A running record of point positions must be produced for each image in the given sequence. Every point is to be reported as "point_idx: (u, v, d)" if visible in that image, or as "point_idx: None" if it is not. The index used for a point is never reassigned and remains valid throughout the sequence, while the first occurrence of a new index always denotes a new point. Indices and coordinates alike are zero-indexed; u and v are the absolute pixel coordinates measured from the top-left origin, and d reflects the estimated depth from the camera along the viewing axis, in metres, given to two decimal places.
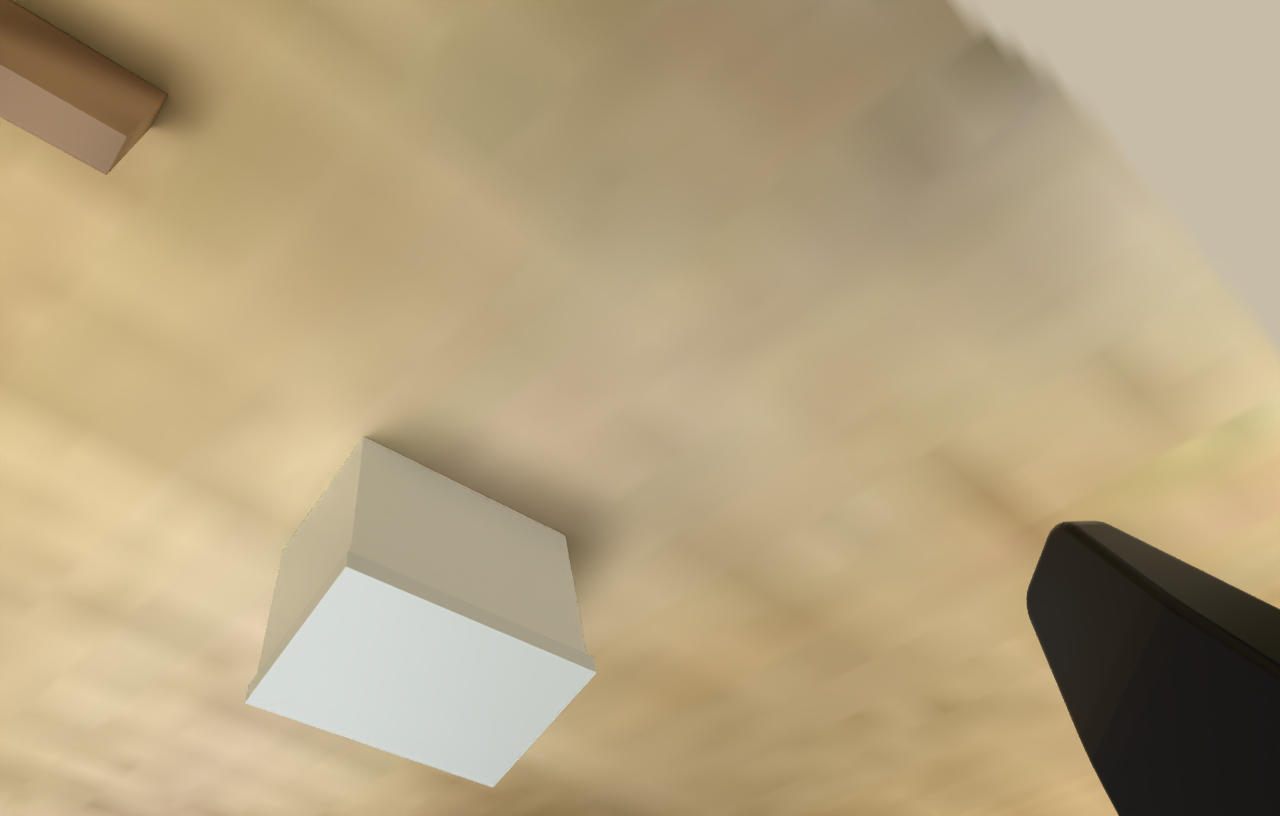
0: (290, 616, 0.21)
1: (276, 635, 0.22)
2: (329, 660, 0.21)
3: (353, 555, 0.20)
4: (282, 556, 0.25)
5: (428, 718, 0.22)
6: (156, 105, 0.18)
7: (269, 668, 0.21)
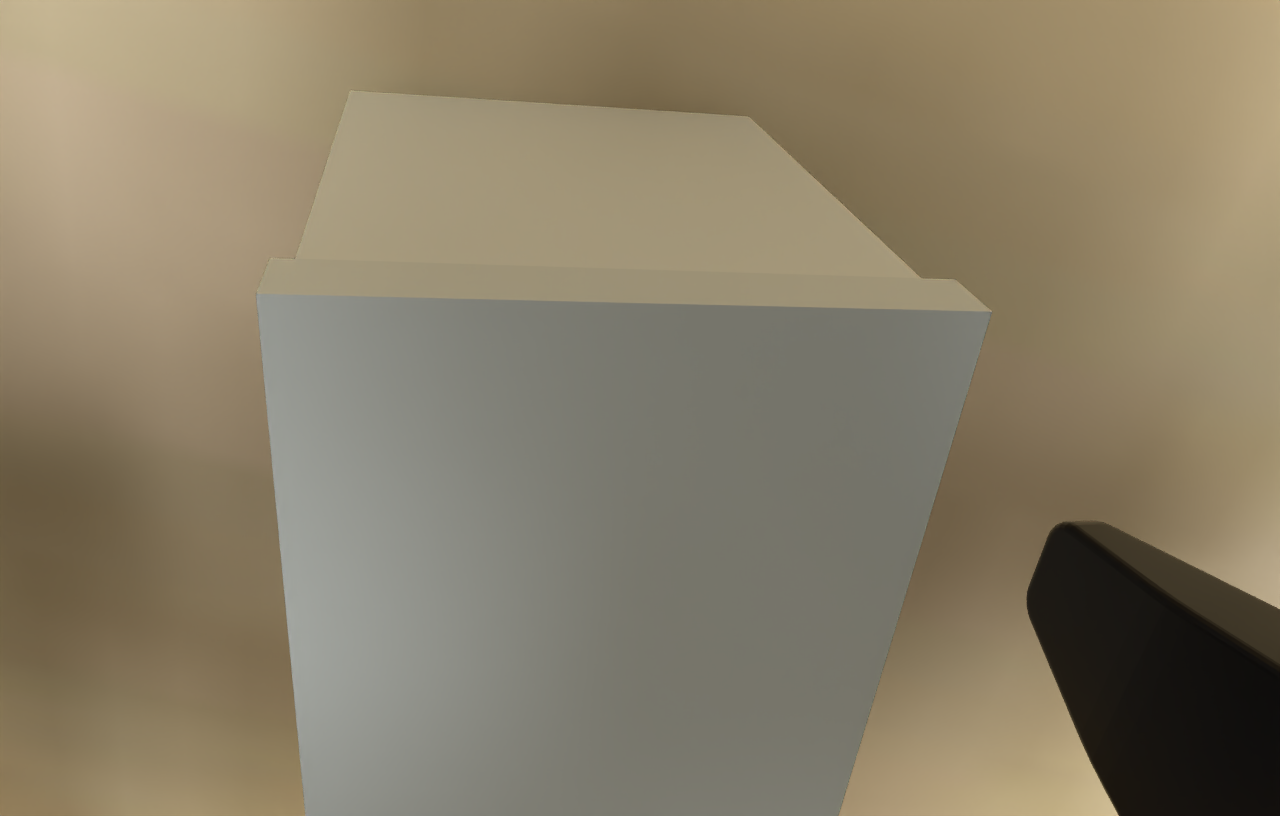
0: (519, 234, 0.07)
1: (422, 230, 0.06)
2: (596, 446, 0.06)
3: None
4: (356, 98, 0.09)
5: (490, 761, 0.07)
6: None
7: (462, 295, 0.05)
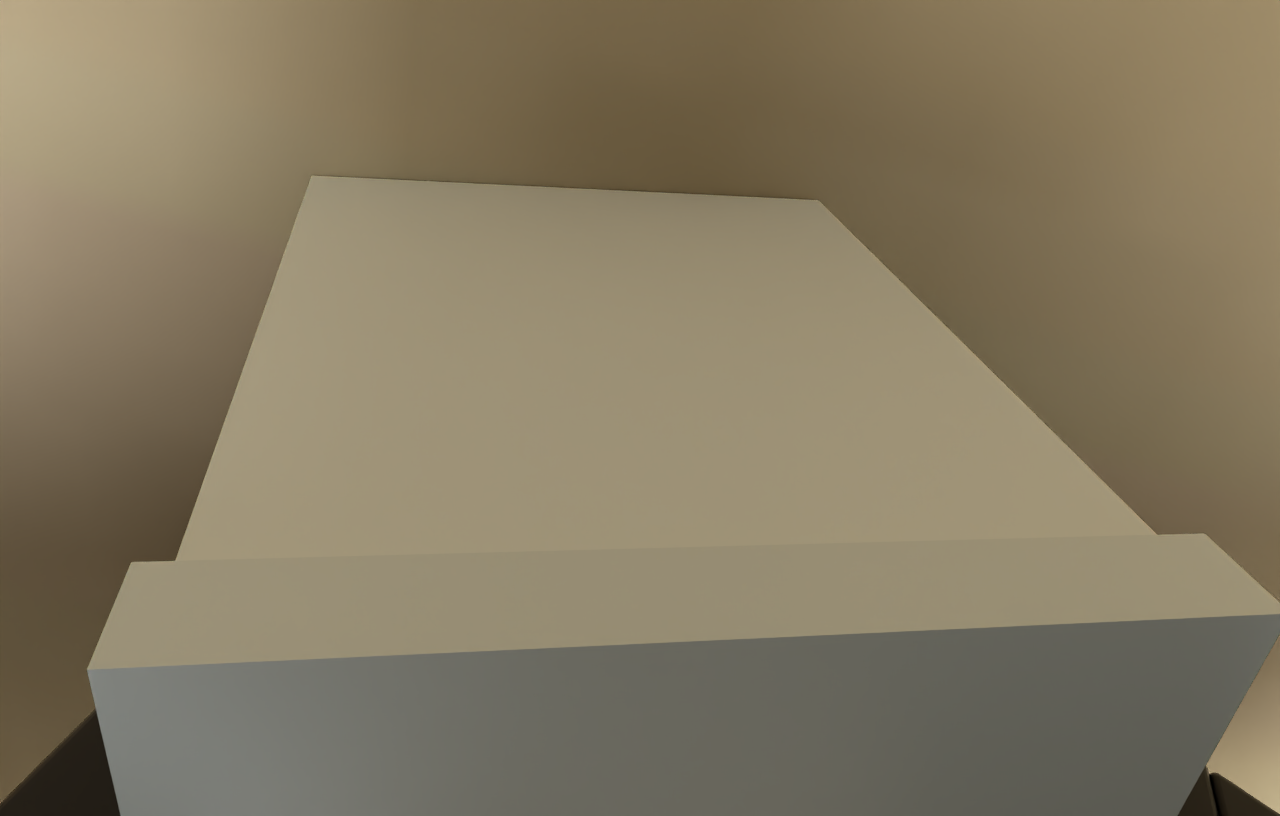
0: (537, 455, 0.04)
1: (392, 455, 0.04)
2: None
3: (1160, 559, 0.04)
4: (317, 192, 0.07)
5: None
6: None
7: (450, 640, 0.03)
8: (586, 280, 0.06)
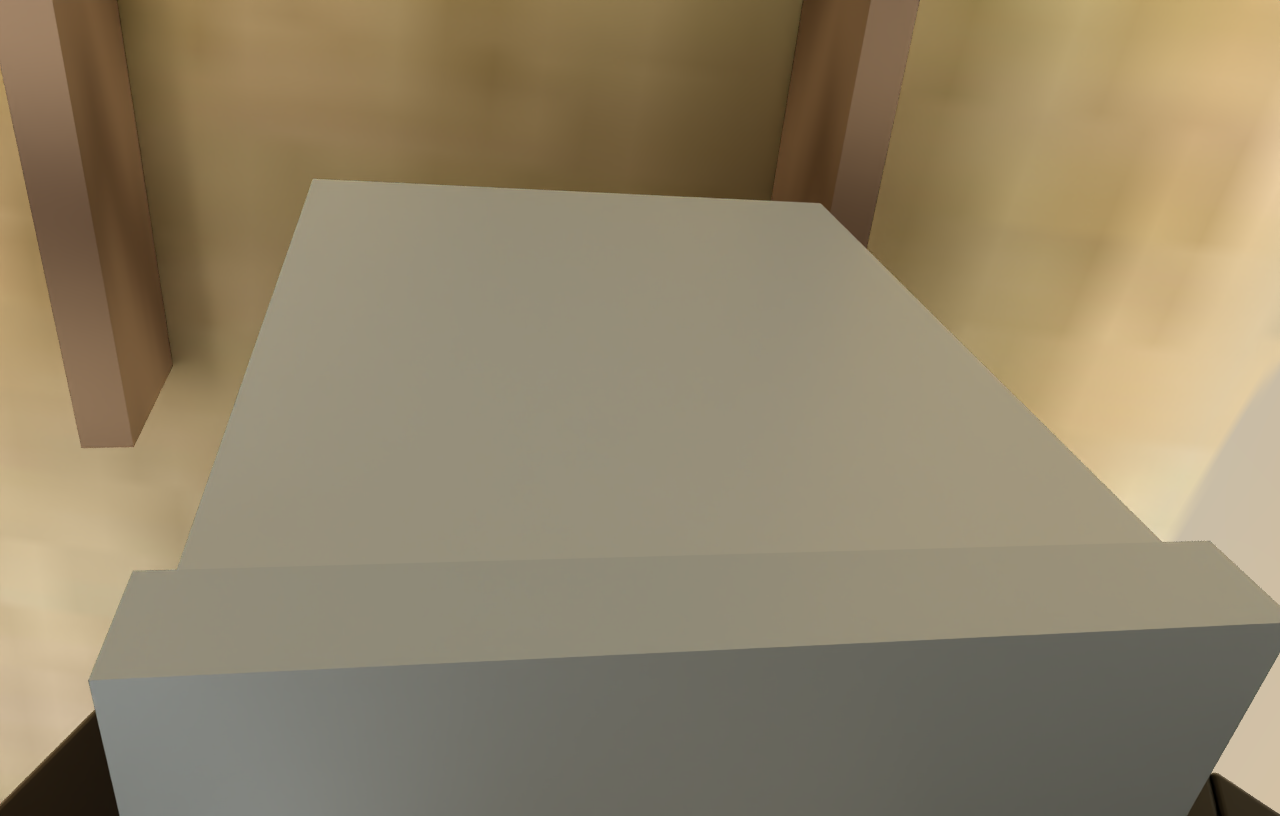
0: (542, 462, 0.04)
1: (394, 461, 0.04)
2: None
3: (1165, 567, 0.04)
4: (318, 195, 0.07)
5: None
6: None
7: (453, 650, 0.03)
8: (588, 284, 0.06)
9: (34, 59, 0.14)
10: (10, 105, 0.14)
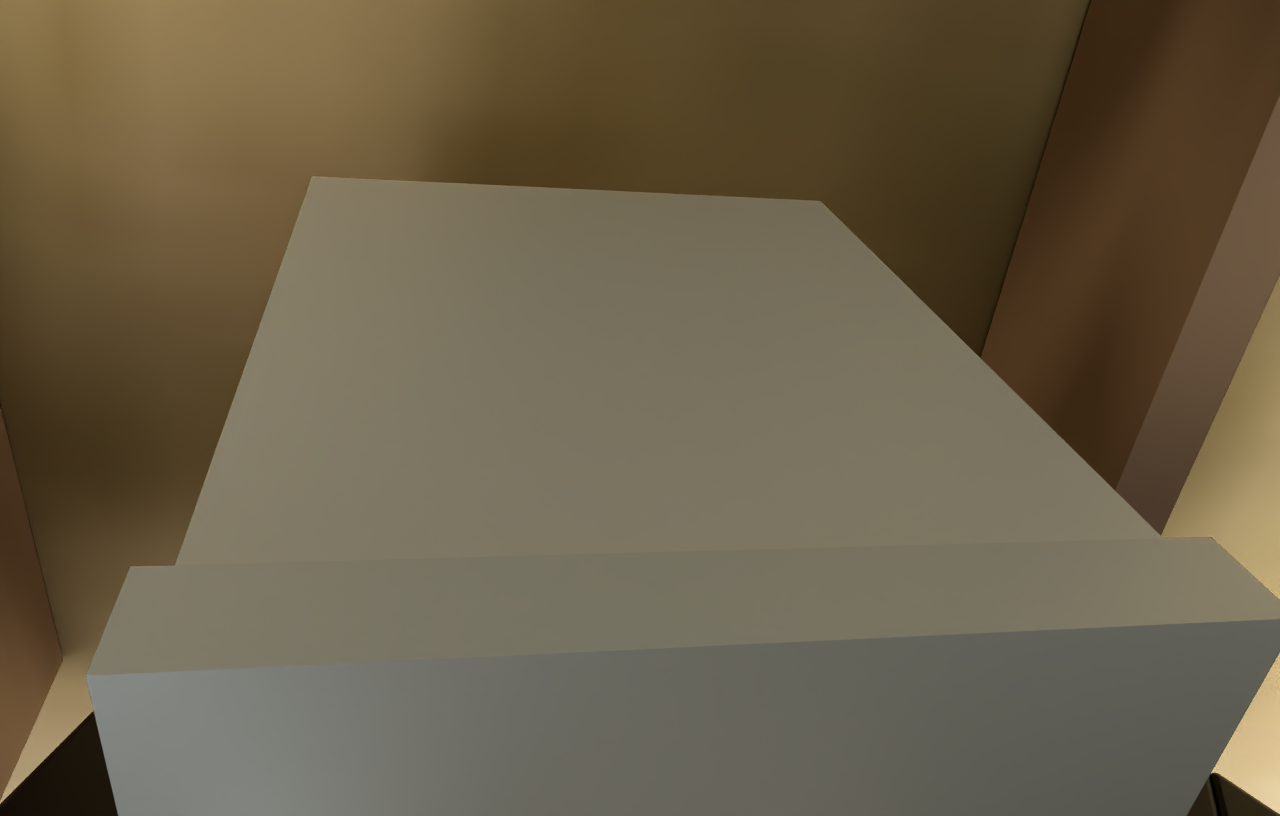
0: (542, 458, 0.04)
1: (393, 458, 0.04)
2: None
3: (1168, 563, 0.04)
4: (317, 192, 0.07)
5: None
6: None
7: (453, 646, 0.03)
8: (588, 281, 0.06)
9: None
10: None
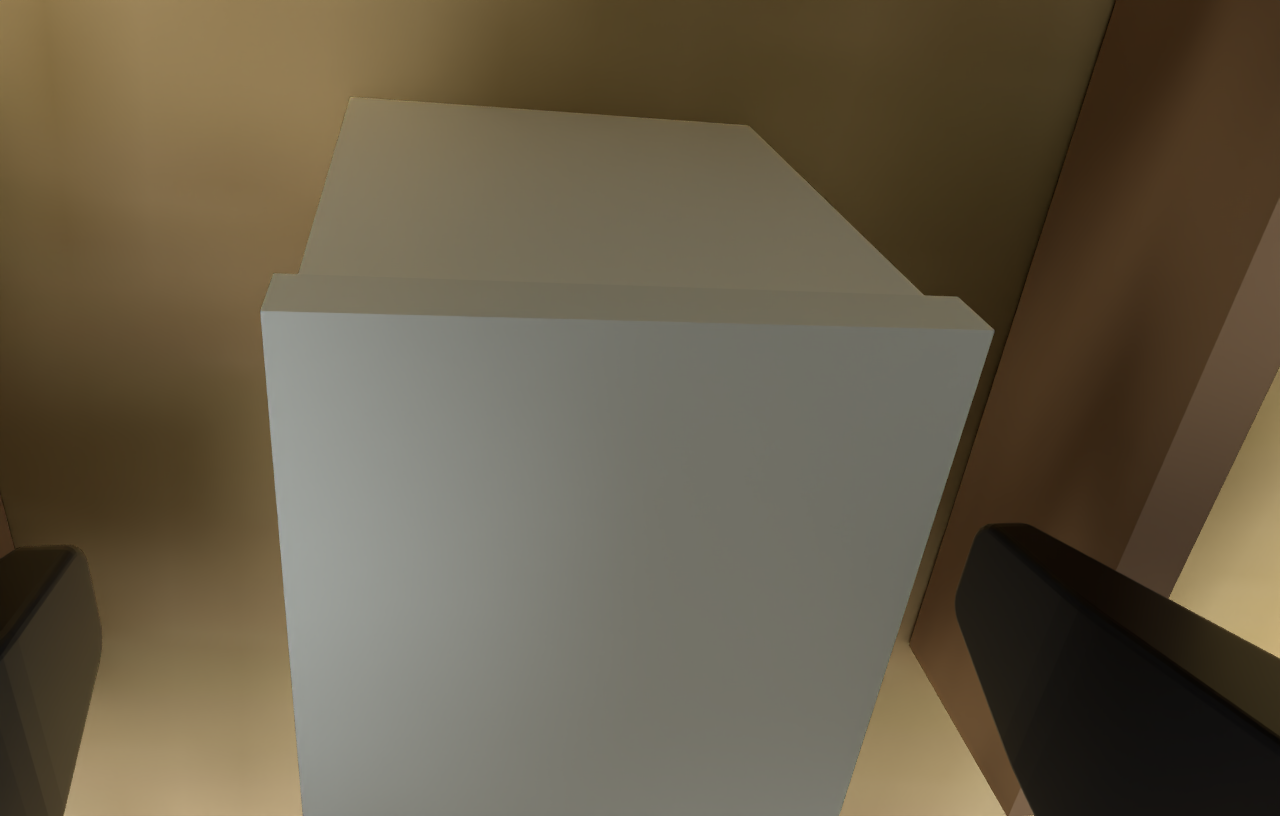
0: (522, 248, 0.07)
1: (425, 243, 0.06)
2: (600, 462, 0.06)
3: None
4: (356, 105, 0.09)
5: (489, 773, 0.07)
6: None
7: (467, 312, 0.05)
8: (560, 163, 0.08)
9: None
10: None
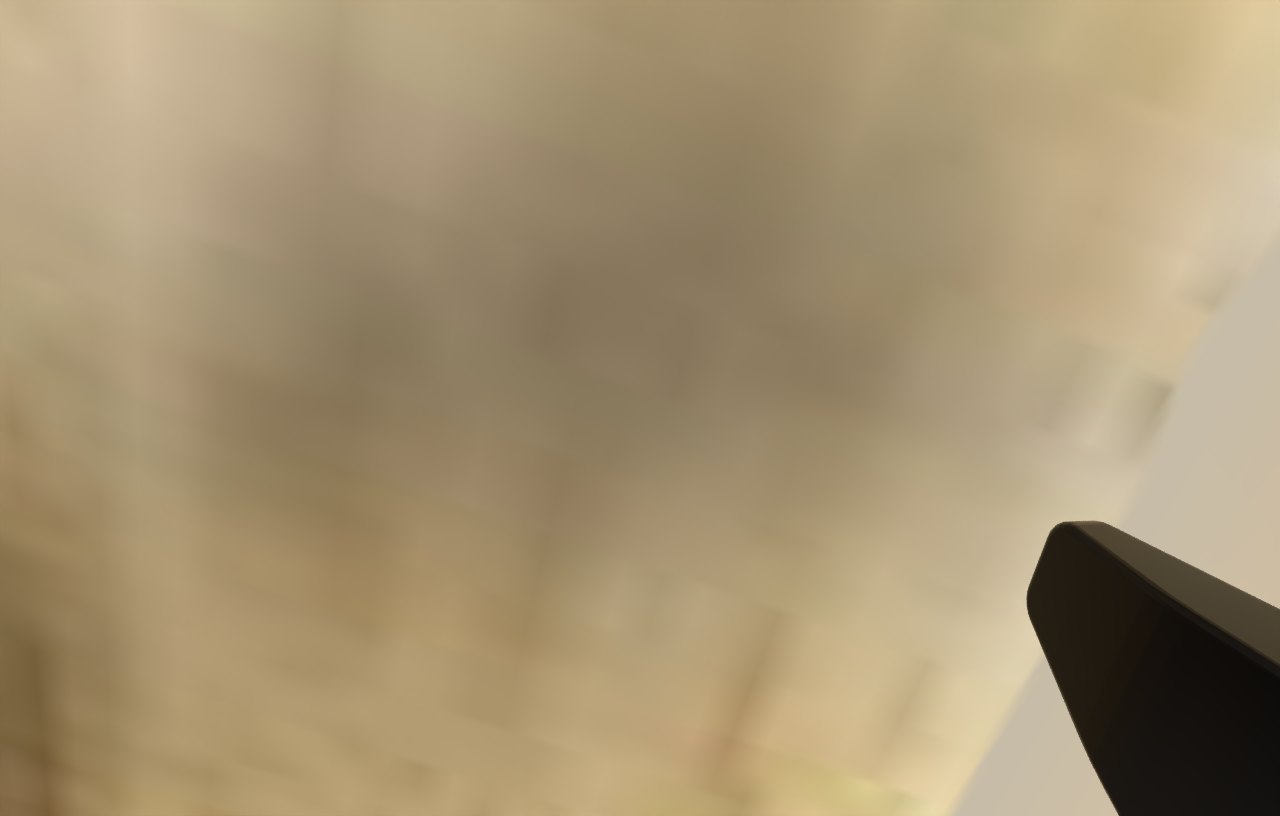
0: None
1: None
2: None
3: None
4: None
5: None
6: None
7: None
8: None
9: None
10: None
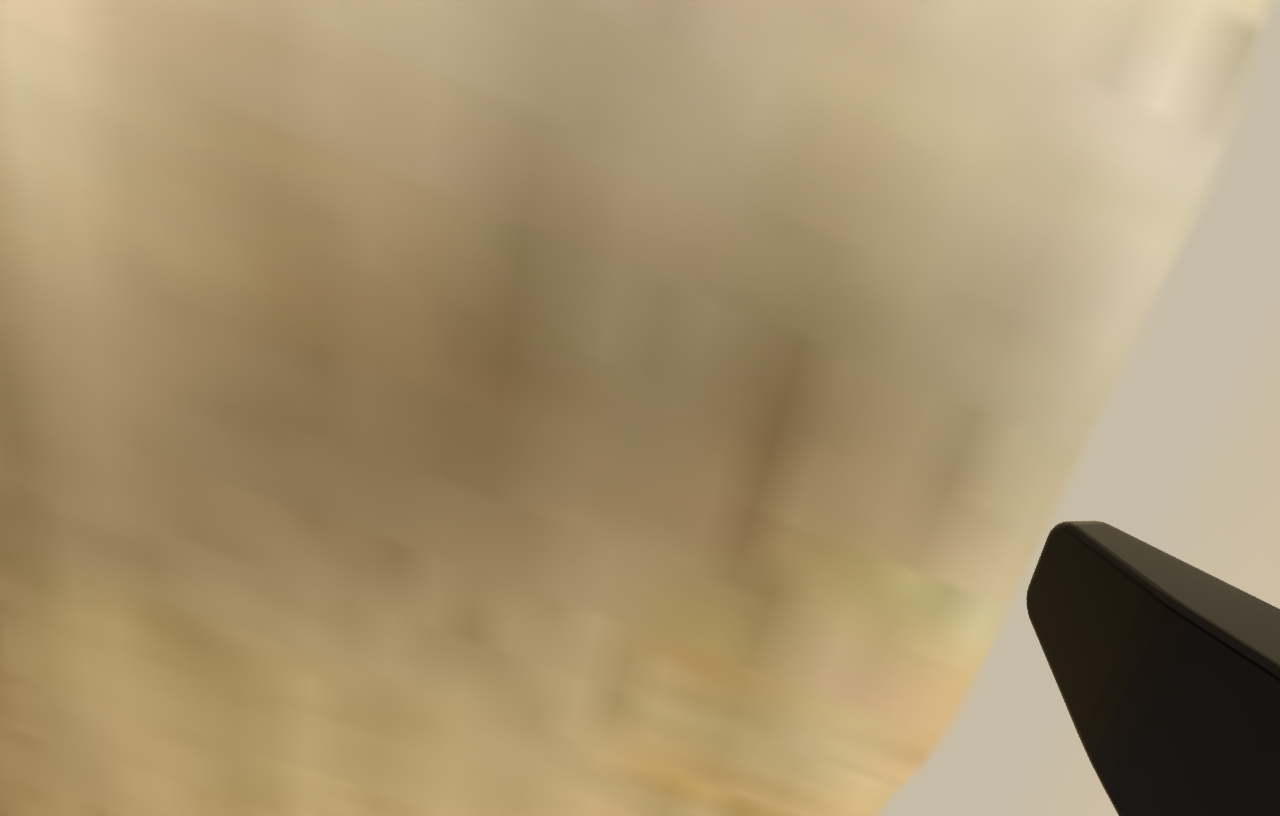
0: None
1: None
2: None
3: None
4: None
5: None
6: None
7: None
8: None
9: None
10: None
